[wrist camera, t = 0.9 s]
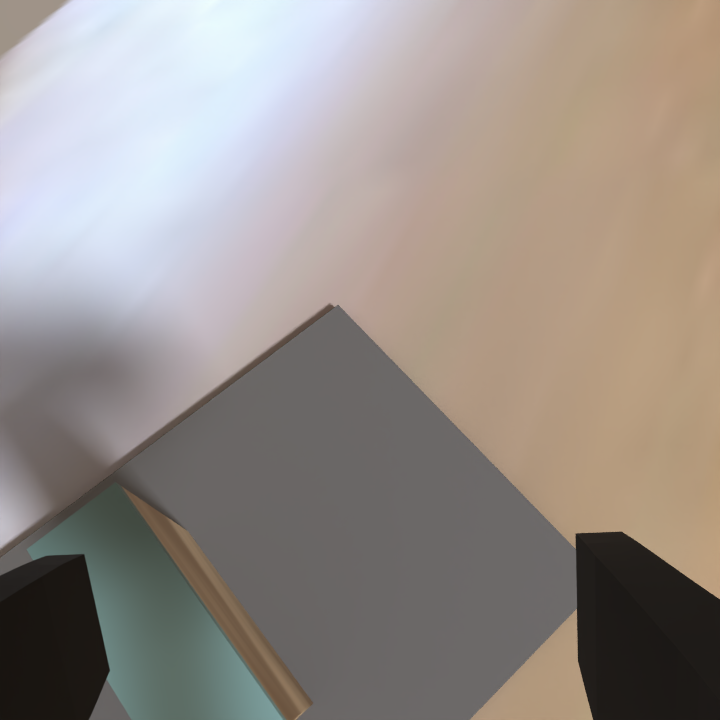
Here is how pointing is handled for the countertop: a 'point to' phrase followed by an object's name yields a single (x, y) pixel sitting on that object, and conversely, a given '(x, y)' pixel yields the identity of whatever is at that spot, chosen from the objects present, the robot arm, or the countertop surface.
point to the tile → (171, 619)
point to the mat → (355, 532)
